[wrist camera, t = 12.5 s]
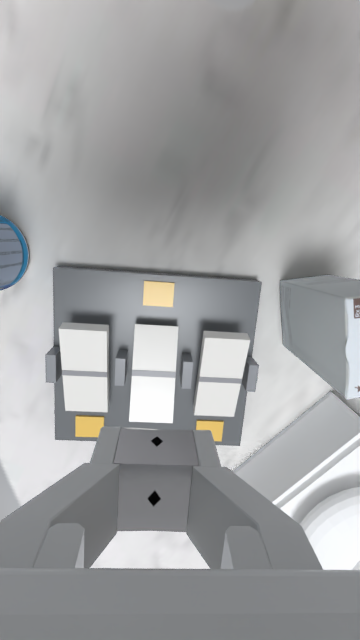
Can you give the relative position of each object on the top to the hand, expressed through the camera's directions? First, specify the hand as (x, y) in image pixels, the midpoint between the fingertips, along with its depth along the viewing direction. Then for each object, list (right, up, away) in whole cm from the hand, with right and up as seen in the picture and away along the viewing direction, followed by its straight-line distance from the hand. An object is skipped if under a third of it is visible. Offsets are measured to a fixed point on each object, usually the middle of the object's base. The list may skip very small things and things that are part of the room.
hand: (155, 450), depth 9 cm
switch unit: (-2, -1, +30) cm, 30 cm away
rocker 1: (-9, -2, +25) cm, 27 cm away
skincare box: (+15, +5, +30) cm, 34 cm away
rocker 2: (-2, -2, +26) cm, 26 cm away
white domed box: (+19, -17, +36) cm, 44 cm away
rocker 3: (+5, -2, +26) cm, 27 cm away
